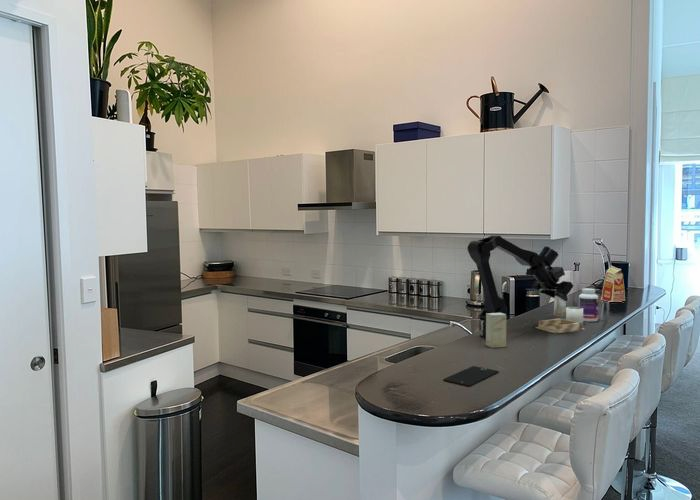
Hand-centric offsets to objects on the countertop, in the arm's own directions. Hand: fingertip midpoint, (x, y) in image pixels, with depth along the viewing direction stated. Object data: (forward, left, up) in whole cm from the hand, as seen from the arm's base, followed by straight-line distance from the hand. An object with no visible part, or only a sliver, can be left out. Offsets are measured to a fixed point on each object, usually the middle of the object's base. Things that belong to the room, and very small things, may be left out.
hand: (562, 299), depth 218 cm
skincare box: (-44, -10, -13) cm, 47 cm away
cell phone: (-76, -36, -13) cm, 84 cm away
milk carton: (+79, +37, -13) cm, 88 cm away
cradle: (-1, 0, -12) cm, 13 cm away
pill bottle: (+24, +7, -13) cm, 28 cm away
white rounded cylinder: (+13, +5, -12) cm, 18 cm away
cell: (-1, 0, -7) cm, 7 cm away
